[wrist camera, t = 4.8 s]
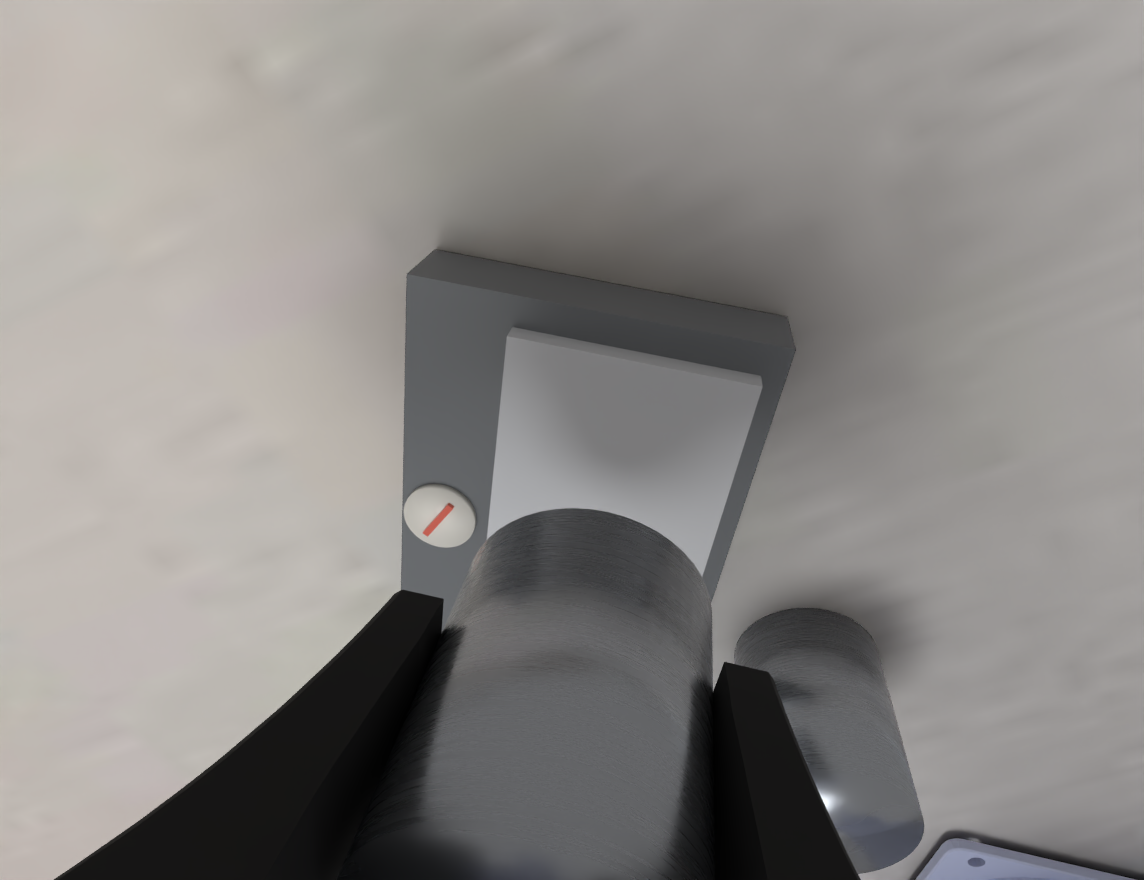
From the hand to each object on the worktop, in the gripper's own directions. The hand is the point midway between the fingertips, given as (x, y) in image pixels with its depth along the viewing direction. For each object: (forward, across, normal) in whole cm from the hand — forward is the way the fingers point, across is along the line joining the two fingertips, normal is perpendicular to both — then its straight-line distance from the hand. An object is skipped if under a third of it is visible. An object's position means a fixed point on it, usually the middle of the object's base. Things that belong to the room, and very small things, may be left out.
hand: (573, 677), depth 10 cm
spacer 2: (+8, -6, +7) cm, 13 cm away
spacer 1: (+2, 0, 0) cm, 2 cm away
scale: (+8, +1, +3) cm, 9 cm away
